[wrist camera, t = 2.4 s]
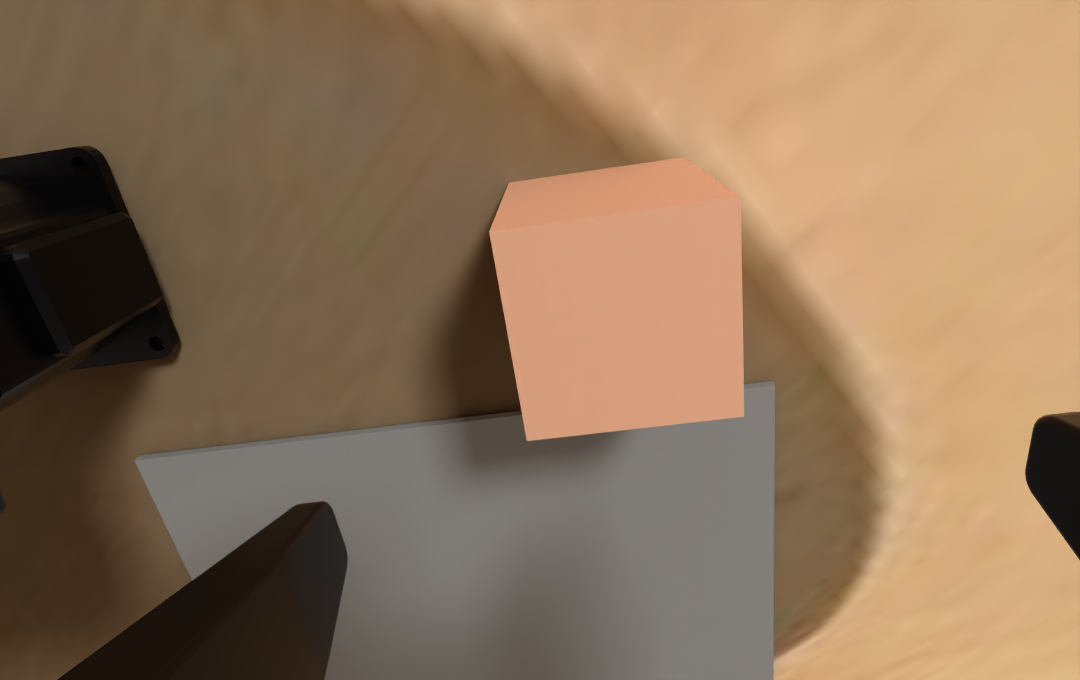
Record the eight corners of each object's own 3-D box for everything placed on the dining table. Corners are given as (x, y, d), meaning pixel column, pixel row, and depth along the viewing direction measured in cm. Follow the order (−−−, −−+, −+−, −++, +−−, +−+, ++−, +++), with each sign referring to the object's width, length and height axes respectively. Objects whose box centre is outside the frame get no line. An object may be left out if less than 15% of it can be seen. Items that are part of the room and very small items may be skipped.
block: (534, 339, 20) (527, 441, 14) (509, 182, 18) (489, 231, 12) (690, 319, 20) (744, 416, 14) (682, 157, 18) (740, 196, 12)
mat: (279, 749, 28) (276, 756, 28) (139, 455, 22) (134, 460, 22) (770, 710, 27) (773, 717, 26) (772, 381, 20) (775, 385, 20)
